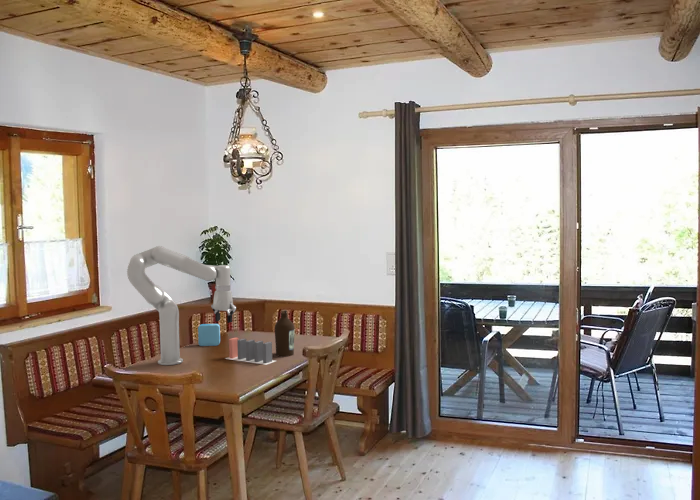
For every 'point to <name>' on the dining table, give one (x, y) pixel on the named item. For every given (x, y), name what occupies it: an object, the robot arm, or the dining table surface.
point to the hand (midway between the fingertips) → (223, 321)
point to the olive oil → (284, 336)
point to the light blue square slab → (209, 334)
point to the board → (250, 360)
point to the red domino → (233, 347)
